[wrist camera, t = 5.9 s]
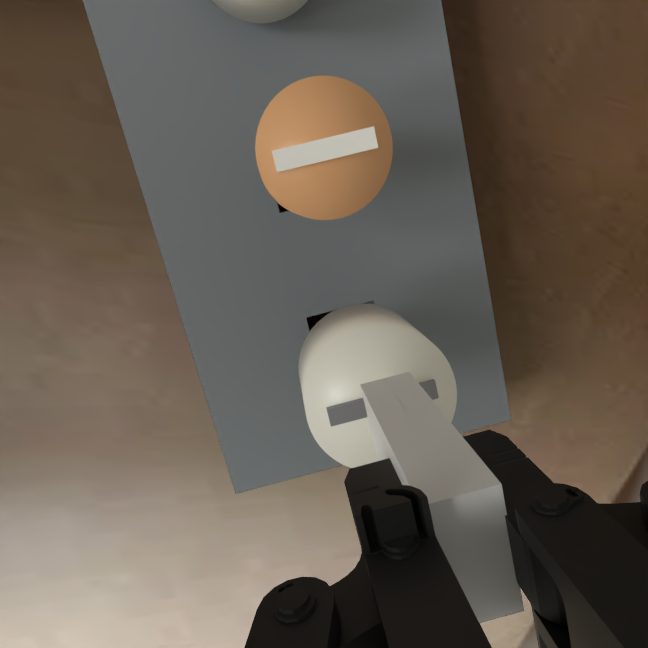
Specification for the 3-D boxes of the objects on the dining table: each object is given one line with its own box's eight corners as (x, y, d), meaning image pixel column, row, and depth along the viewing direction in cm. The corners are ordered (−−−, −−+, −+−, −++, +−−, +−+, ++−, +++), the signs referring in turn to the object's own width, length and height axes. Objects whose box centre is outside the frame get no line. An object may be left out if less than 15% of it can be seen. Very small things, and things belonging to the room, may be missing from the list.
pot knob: (273, 224, 24) (275, 234, 16) (249, 130, 23) (238, 92, 15) (361, 202, 24) (406, 202, 16) (341, 107, 23) (378, 59, 15)
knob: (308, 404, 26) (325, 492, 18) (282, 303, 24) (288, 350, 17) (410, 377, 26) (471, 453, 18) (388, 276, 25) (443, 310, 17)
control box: (240, 456, 30) (235, 493, 26) (67, -115, 24) (27, -178, 20) (480, 392, 31) (511, 419, 27) (377, -182, 24) (398, -256, 20)
